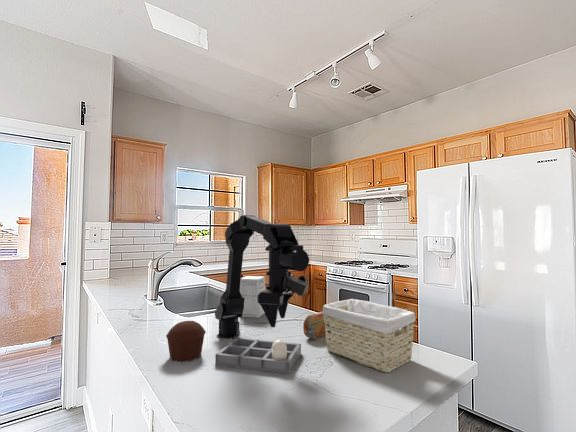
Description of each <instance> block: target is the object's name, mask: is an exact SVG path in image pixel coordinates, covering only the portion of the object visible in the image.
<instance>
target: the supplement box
mask: <svg viewBox="0 0 576 432" xmlns="http://www.w3.org/2000/svg"><path fill="white" fill-rule="evenodd" d="M264 290H266V276H261V275H259V276H258V275H255V276H253V275H251V276H250V275H247V276H246V275H245V276H243V277H241V282H240V293H241V295H242V297H244V299H245V300H244V309H243V314H242V317H241V318H253V319H254V318H258V319H259V318H261V317H262V316H264V315H265V312H264V310H263V309H262V307H261V305H260V304H259V303H258V302H257V295H258V294H259V293H260V292H262V291H264Z"/></svg>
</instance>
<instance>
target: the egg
mask: <svg viewBox="0 0 576 432" xmlns="http://www.w3.org/2000/svg"><path fill="white" fill-rule="evenodd" d="M285 342H286V341H284V340H282V339H276V340H274V342H273V344H272V359H275V360H284V361H286V360H287V345H286V343H287V342H286V343H285Z"/></svg>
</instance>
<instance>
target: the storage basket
mask: <svg viewBox="0 0 576 432" xmlns="http://www.w3.org/2000/svg"><path fill="white" fill-rule="evenodd" d="M321 312H322V313H323V314H324V322H325V331H326V333H325V334H326V336H325V343H326V350H327V351H329V352H331V353H333V354H335V355H338V356H341V357H344V358H346V359H349V360H352V361H354V362H356V363H358V364H360V365H363V366H367V367H370V368H371V369H372V368H373V369H375V370H377V371H381V372H383V373H390V372H392V371H394V370H396V369H397V368H400V367H401V366H404V365H405V364H407V363H409V362H411V360H412V353H413V349H412V348H413V345H414V343H413V341H414V325H415V322H416V321H417V320H416V316H415V315H416V314H415V312H414V311H410V310H408V309H403V308H399V307H395V306H390V305H385V304H380V303H376V302H372V301H368V300H362V299H361V300H360V299H354V298H349V299H344V300H339V301H334V302H330V303H327V304H324V305H323V306H322V311H321Z"/></svg>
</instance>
